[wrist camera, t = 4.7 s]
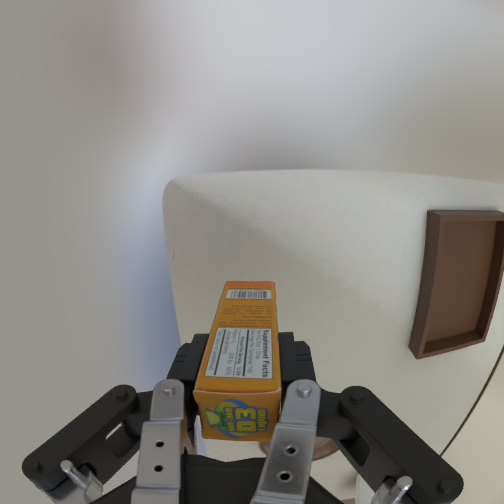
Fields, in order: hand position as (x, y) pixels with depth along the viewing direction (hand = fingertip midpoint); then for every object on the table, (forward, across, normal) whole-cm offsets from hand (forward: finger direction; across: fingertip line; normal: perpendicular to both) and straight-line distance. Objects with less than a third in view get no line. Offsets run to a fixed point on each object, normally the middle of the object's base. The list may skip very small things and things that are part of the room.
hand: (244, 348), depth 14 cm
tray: (+19, -28, +6) cm, 34 cm away
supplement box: (+5, 0, 0) cm, 5 cm away
